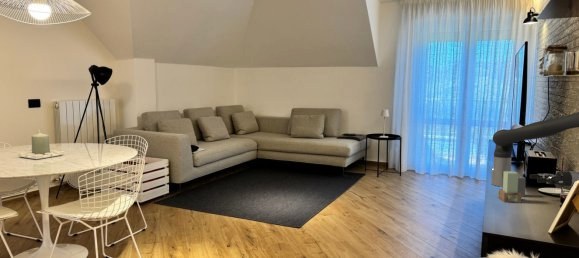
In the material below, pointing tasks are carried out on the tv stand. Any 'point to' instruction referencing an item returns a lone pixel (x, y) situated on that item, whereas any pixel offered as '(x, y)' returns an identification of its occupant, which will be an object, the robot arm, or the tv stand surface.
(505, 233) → the tv stand surface
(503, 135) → the robot arm
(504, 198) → the brown box
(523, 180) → the charcoal block
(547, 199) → the tv stand surface
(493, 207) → the tv stand surface
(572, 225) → the tv stand surface
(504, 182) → the sage green block
